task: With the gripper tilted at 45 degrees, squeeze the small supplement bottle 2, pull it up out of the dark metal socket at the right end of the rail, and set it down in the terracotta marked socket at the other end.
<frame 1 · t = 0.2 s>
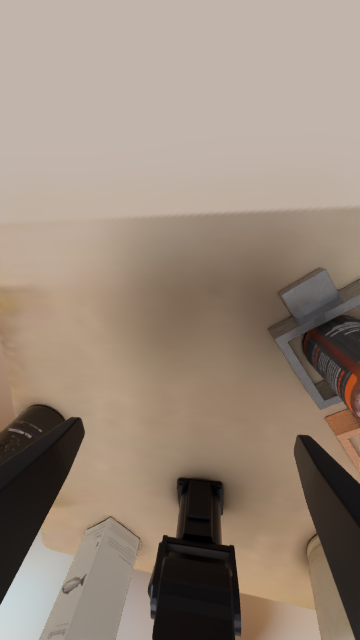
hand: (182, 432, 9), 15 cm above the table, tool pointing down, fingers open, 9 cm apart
supplement box: (113, 532, 39), on the table
supplement bottle 2: (331, 340, 22), resting in socket rail
supplement bottle: (46, 421, 31), on the table
socket rail: (359, 388, 23), on the table
jug: (350, 548, 32), on the table
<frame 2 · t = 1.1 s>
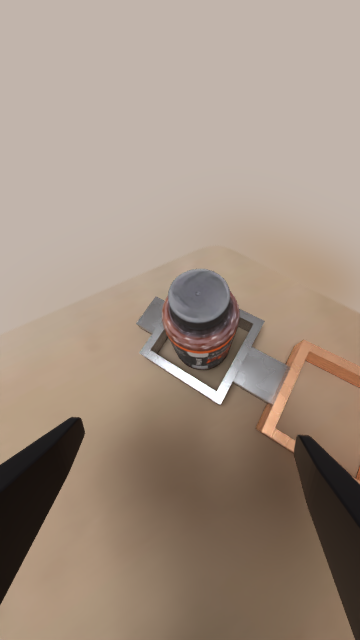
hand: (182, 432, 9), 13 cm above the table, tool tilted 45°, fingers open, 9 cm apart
supplement bottle 2: (202, 344, 24), resting in socket rail
socket rail: (257, 375, 22), on the table
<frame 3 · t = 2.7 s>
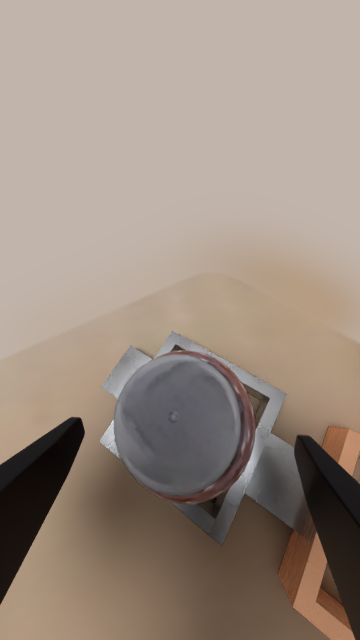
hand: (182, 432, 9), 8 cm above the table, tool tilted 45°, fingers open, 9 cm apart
supplement bottle 2: (194, 417, 17), resting in socket rail
socket rail: (276, 473, 15), on the table
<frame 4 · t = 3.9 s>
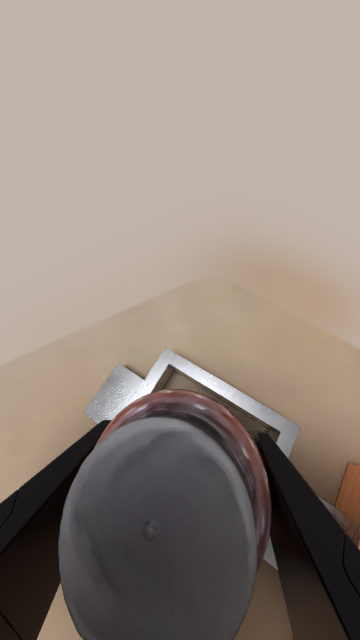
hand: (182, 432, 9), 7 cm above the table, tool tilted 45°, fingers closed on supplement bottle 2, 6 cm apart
supplement bottle 2: (191, 448, 15), resting in socket rail, touching gripper
socket rail: (288, 519, 12), on the table
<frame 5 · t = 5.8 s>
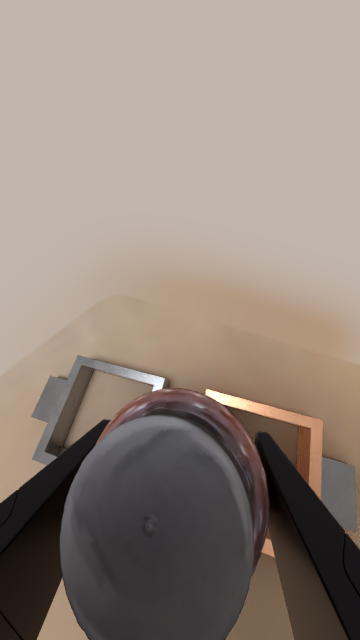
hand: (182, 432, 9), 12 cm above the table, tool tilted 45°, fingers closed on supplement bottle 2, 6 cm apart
supplement bottle 2: (191, 447, 15), point 5 cm above the table, touching gripper
socket rail: (175, 437, 20), on the table
when the fingers open (7 cm above the table, at t = 7.8 s): supplement bottle 2 stays where it is, resting in socket rail.
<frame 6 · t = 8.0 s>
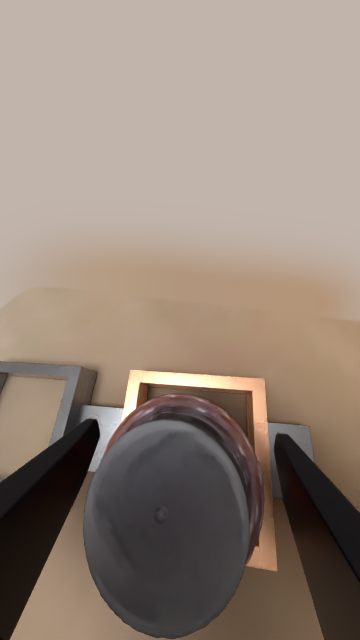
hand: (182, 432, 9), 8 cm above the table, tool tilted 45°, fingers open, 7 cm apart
supplement bottle 2: (192, 447, 15), resting in socket rail
socket rail: (106, 436, 16), on the table
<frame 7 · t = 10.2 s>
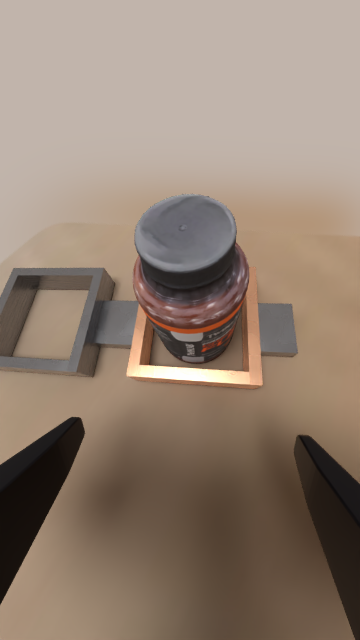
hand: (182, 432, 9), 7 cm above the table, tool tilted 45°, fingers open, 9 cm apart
supplement bottle 2: (196, 331, 19), resting in socket rail
socket rail: (124, 326, 19), on the table
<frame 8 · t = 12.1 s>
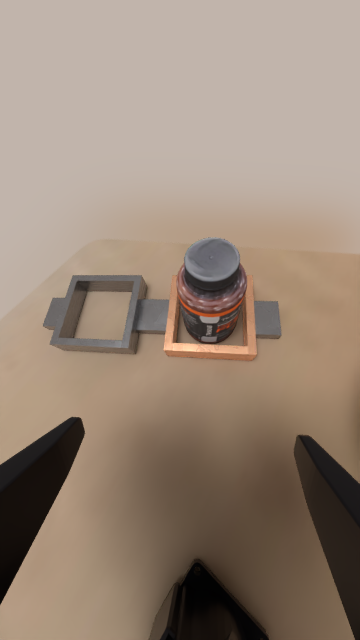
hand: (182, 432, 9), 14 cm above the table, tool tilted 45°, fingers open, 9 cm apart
supplement bottle 2: (209, 321, 26), resting in socket rail
socket rail: (156, 318, 26), on the table
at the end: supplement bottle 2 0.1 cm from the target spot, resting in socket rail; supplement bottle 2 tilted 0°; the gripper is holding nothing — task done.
